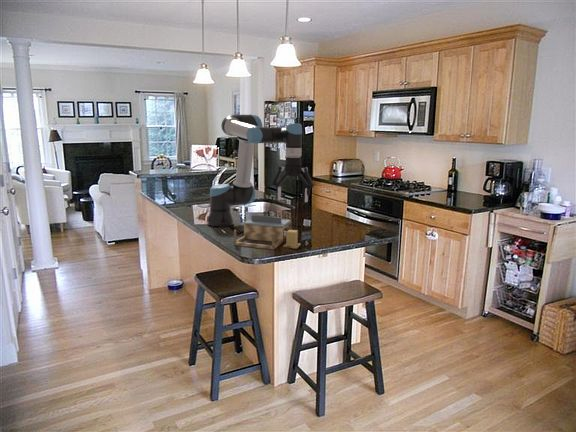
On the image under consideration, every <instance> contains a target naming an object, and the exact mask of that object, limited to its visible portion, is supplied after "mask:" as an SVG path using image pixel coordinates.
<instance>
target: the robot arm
mask: <svg viewBox="0 0 576 432" xmlns="http://www.w3.org/2000/svg"><path fill="white" fill-rule="evenodd" d="M221 130H222V132H223V133H224V134H225V135H227V136H230V137H236V139H237V140H238V141H239V142H238V152H237V162H236V163H237V164H236V175H235V180H233V182H232V185H230V184H229V183H220V184H215V185H213V186H210V189H209V202H210V203H209V209H210V211H209V215H208V218H207V226H209V225H211V226H210V227H212V226H219V227H218V228H225V227H231V226H233V225H234V218H233V216H232V213H231V207H233V206H234V207H236V206H247V205H250V204H252V203H253V202H254V200H255V197H256V189H255V187H254V185H253V183H252V182H251V176H252V166H253V160H254V159H253V157H254V151H255V144H257V145H258V144H285V166H283V165H280V166H279V167H278V171H277V173H276V175H275V178H274V179H273V182H272V186H275V193H276V194H277V201H281V199H282V186H281V184H282V183H283V182H284V181H285V180H286V179H287V178H288V177H296V178H298V179H300V181H301V182H302V184H303V185H304V186H305V189H304V203H308V201H309V196H310V195H311V189H312V188H313V187H315V184H314V182H313V179H312V177H311V175H310V173H309V168H308V167H307V166H306V167H302V155H303V154H302V152H303V151H302V150H303V149H302V148H303V147H302V145H303V126H302V124H301V123H287V124H286V125H285V127H284V126H278V127H277V126H275V127H274V126H273V127H272V126H269V127H266V126H265V127H264V126H263V123H262V120H261V118H260V116H258V115H256V114H229V115H227V116H225V118H223V119H222V121H221ZM283 171H285V173H284V175H283V176H282V177H281V175H282V173H283ZM302 172H303V173H304V175H305V177H306V179H305V177H304V176H303V174H302ZM280 177H281V178H280ZM279 179H280V180H279Z"/></svg>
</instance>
